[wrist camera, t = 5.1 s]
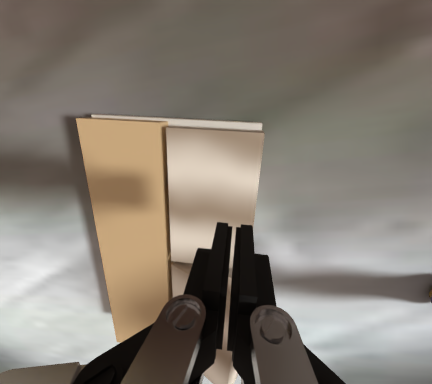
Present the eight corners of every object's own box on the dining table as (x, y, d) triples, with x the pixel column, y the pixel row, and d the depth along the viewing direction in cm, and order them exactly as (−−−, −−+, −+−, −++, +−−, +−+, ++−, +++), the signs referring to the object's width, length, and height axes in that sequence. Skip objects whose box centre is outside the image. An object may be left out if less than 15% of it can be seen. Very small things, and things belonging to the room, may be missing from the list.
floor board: (102, 114, 19) (74, 115, 16) (260, 122, 18) (265, 125, 15) (130, 315, 28) (116, 342, 25) (237, 328, 27) (236, 359, 24)
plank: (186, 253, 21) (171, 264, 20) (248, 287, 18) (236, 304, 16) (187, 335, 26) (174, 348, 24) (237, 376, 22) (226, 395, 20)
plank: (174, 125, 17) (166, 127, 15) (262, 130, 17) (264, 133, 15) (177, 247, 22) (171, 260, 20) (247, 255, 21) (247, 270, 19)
